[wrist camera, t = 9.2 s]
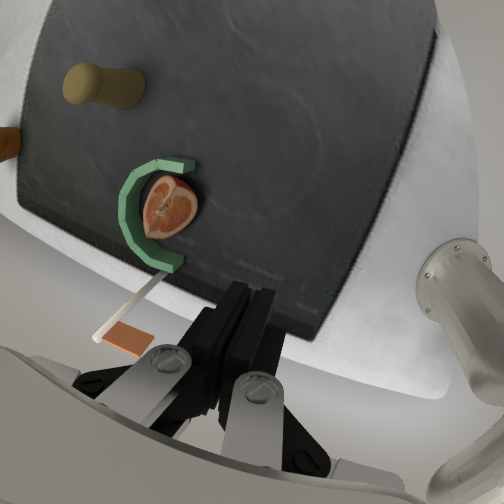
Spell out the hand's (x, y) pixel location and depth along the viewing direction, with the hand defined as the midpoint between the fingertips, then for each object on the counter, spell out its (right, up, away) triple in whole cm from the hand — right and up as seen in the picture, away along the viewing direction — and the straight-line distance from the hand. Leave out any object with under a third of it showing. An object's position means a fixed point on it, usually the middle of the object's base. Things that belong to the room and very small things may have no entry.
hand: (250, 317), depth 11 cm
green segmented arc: (-11, +8, +27) cm, 30 cm away
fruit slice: (-10, +9, +26) cm, 29 cm away
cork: (-17, +25, +21) cm, 37 cm away
